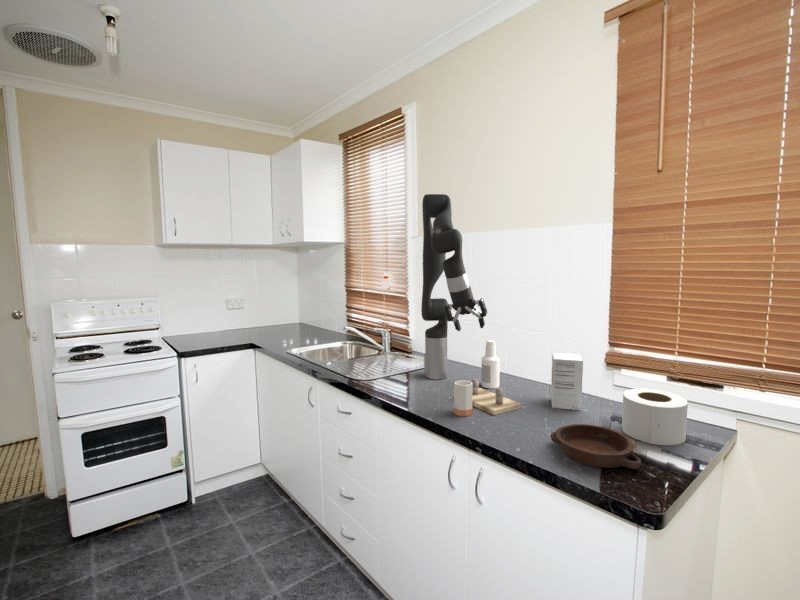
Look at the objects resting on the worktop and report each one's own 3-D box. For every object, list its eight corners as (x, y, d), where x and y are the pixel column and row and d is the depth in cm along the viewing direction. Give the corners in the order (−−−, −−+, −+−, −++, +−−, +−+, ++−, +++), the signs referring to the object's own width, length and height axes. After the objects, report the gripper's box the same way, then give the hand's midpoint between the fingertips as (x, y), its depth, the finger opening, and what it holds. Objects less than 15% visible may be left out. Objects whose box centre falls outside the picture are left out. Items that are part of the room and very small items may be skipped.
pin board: (454, 397, 149) (454, 380, 149) (480, 391, 155) (480, 374, 155) (494, 415, 132) (494, 395, 132) (521, 407, 138) (521, 389, 138)
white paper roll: (671, 451, 107) (673, 410, 106) (611, 431, 119) (613, 395, 118) (694, 435, 116) (697, 398, 115) (636, 418, 128) (638, 384, 127)
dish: (565, 432, 119) (565, 416, 119) (652, 458, 103) (653, 439, 103) (535, 453, 107) (536, 434, 106) (629, 486, 91) (630, 464, 91)
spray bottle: (484, 382, 167) (485, 338, 165) (501, 385, 163) (502, 340, 161) (478, 387, 161) (479, 341, 159) (496, 389, 157) (496, 343, 156)
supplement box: (550, 398, 147) (551, 352, 145) (578, 401, 144) (580, 353, 142) (551, 408, 138) (553, 358, 136) (581, 411, 135) (583, 360, 133)
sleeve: (450, 411, 136) (450, 382, 135) (464, 408, 139) (464, 379, 138) (462, 417, 131) (462, 386, 130) (476, 413, 134) (476, 383, 133)
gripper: (481, 279, 144) (492, 321, 148) (443, 286, 150) (454, 326, 155) (476, 287, 137) (488, 331, 142) (437, 294, 144) (449, 335, 148)
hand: (470, 328), depth 148 cm, fingers open, 8 cm apart
